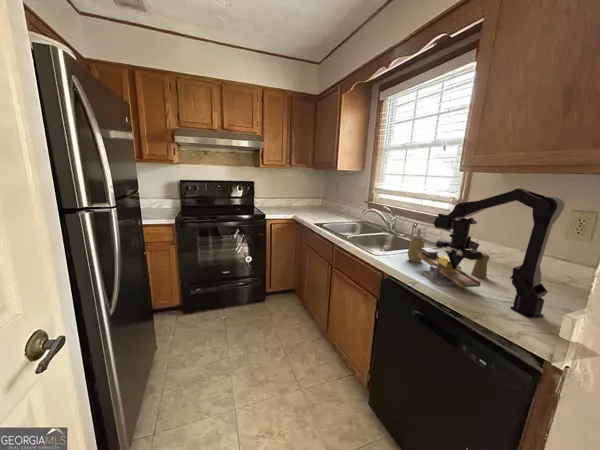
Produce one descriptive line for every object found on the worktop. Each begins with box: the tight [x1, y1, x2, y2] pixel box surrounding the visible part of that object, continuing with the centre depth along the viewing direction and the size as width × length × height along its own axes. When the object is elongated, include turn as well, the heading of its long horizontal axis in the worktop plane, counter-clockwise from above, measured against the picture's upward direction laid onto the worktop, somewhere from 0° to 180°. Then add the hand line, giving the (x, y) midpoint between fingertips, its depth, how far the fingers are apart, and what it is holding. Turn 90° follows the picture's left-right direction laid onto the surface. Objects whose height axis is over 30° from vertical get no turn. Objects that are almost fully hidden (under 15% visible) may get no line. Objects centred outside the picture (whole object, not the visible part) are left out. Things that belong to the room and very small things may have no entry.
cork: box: [470, 252, 490, 280], centre depth 117 cm, size 6×6×11 cm
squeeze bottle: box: [407, 227, 425, 263], centre depth 134 cm, size 8×8×18 cm
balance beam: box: [417, 252, 482, 289], centre depth 112 cm, size 28×9×2 cm, turn 12°
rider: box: [438, 255, 455, 270], centre depth 111 cm, size 5×5×4 cm
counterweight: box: [421, 247, 439, 258], centre depth 122 cm, size 5×5×3 cm
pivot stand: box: [420, 265, 462, 286], centre depth 113 cm, size 12×15×6 cm
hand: (454, 268), depth 108 cm, fingers closed
